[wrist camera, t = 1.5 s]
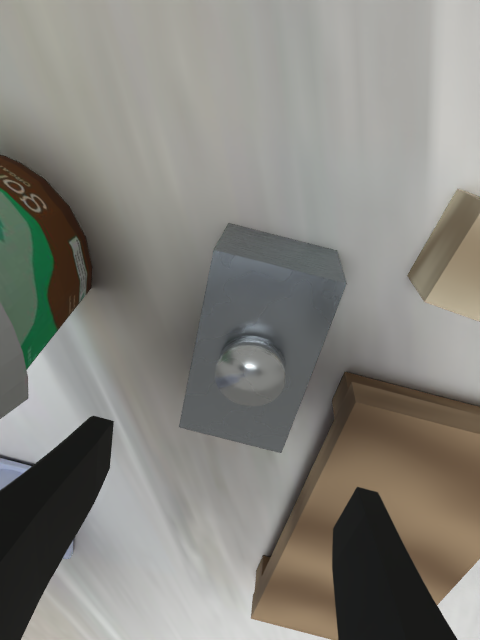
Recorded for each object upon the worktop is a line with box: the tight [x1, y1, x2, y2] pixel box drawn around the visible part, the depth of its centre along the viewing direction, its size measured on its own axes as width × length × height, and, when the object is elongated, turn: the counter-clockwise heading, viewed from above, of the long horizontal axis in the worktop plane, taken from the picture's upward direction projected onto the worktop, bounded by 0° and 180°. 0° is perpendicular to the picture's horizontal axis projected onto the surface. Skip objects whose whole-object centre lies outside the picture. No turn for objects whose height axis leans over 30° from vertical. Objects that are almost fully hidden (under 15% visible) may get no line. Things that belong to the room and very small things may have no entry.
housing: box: [179, 223, 347, 453], centre depth 18 cm, size 9×5×5 cm, turn 167°
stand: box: [251, 372, 480, 640], centre depth 24 cm, size 20×10×3 cm, turn 167°
